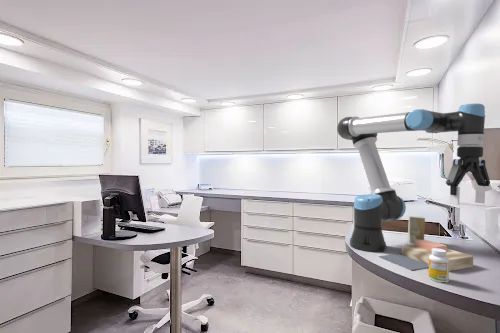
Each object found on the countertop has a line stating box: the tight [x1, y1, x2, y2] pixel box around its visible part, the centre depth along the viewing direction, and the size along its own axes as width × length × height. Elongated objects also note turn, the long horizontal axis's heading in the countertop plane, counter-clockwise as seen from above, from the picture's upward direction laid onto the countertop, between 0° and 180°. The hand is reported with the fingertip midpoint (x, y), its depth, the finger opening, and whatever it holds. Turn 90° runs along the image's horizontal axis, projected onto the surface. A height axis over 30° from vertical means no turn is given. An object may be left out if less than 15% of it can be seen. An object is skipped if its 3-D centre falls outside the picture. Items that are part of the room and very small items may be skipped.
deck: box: [401, 243, 474, 272], centre depth 107 cm, size 18×14×4 cm
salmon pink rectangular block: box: [414, 239, 448, 251], centre depth 110 cm, size 9×6×2 cm, turn 20°
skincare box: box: [407, 215, 426, 243], centre depth 133 cm, size 6×4×12 cm
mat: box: [378, 253, 429, 271], centre depth 105 cm, size 15×10×1 cm
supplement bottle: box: [428, 248, 450, 283], centre depth 89 cm, size 5×5×10 cm
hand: (467, 203), depth 102 cm, fingers open, 13 cm apart
